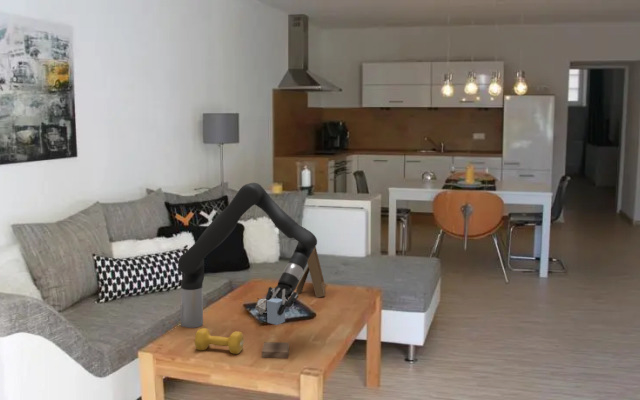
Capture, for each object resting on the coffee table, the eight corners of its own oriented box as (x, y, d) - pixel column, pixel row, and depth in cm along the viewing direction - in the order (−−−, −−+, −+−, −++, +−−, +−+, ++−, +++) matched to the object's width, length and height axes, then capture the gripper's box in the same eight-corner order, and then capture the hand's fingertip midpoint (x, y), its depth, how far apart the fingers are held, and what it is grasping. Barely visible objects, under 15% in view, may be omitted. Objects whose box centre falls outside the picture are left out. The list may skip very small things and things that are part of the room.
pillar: (267, 322, 264) (266, 300, 262) (275, 319, 268) (274, 297, 266) (277, 324, 261) (277, 302, 260) (285, 321, 265) (284, 299, 264)
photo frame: (324, 285, 360) (324, 240, 357) (324, 297, 339) (324, 249, 335) (297, 285, 361) (297, 240, 357) (295, 297, 339) (294, 249, 335)
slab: (261, 358, 260) (261, 351, 260) (264, 349, 270) (264, 342, 270) (287, 359, 260) (287, 351, 260) (289, 349, 270) (289, 342, 270)
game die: (266, 323, 311) (269, 310, 304) (249, 315, 312) (252, 303, 305) (274, 309, 317) (277, 297, 310) (258, 302, 318) (261, 289, 311)
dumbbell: (192, 352, 265) (192, 332, 264) (202, 344, 274) (201, 325, 273) (237, 357, 261) (237, 337, 259) (245, 348, 269) (245, 329, 268)
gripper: (272, 269, 272) (254, 305, 263) (301, 274, 264) (283, 311, 256) (280, 279, 277) (263, 314, 269) (309, 284, 269) (291, 321, 261)
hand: (273, 313), depth 262 cm, fingers closed on pillar, 5 cm apart
